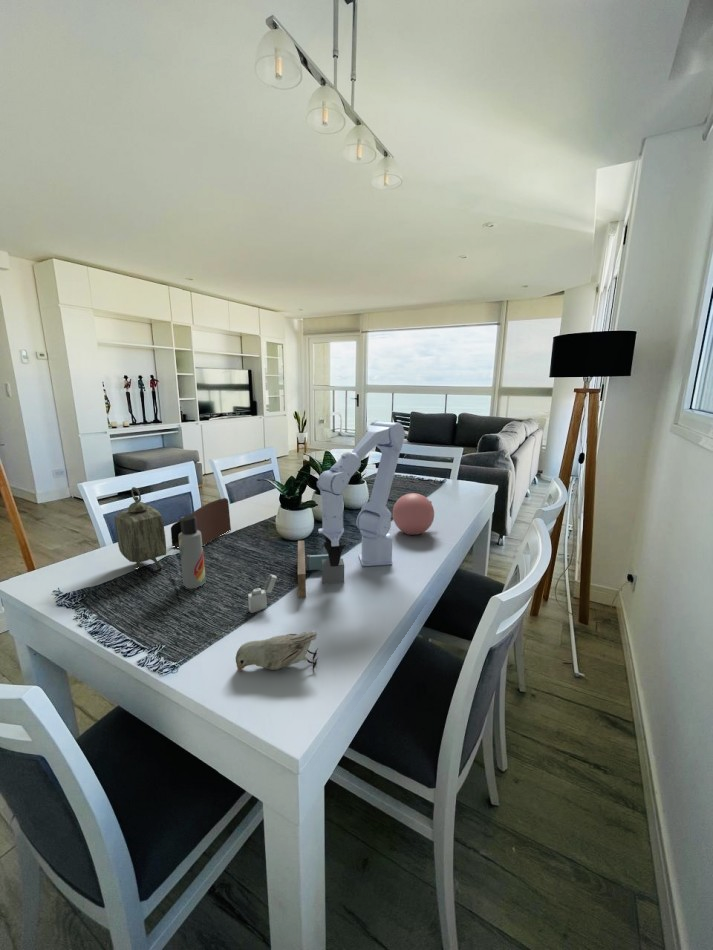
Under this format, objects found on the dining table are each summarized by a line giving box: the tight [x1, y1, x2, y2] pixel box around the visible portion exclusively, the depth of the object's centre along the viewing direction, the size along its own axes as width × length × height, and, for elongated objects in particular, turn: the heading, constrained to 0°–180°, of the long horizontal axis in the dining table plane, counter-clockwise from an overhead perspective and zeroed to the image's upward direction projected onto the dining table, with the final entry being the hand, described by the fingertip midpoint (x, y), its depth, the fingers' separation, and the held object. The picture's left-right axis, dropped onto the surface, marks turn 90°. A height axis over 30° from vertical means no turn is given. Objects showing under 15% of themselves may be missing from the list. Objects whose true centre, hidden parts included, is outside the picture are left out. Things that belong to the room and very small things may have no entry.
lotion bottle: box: [178, 514, 206, 589], centre depth 104 cm, size 6×6×20 cm
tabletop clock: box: [114, 486, 167, 569], centre depth 113 cm, size 14×9×25 cm, turn 47°
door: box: [305, 553, 329, 571], centre depth 115 cm, size 10×2×4 cm, turn 98°
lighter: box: [247, 573, 278, 614], centre depth 95 cm, size 7×2×8 cm, turn 125°
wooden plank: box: [297, 540, 307, 599], centre depth 110 cm, size 2×22×7 cm, turn 8°
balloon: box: [392, 492, 435, 536], centre depth 144 cm, size 15×20×15 cm
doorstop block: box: [321, 557, 345, 584], centre depth 109 cm, size 6×4×6 cm, turn 98°
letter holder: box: [170, 497, 232, 547], centre depth 136 cm, size 10×20×14 cm, turn 163°
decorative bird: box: [235, 630, 319, 673], centre depth 75 cm, size 5×16×8 cm, turn 96°
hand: (333, 559), depth 108 cm, fingers open, 7 cm apart
